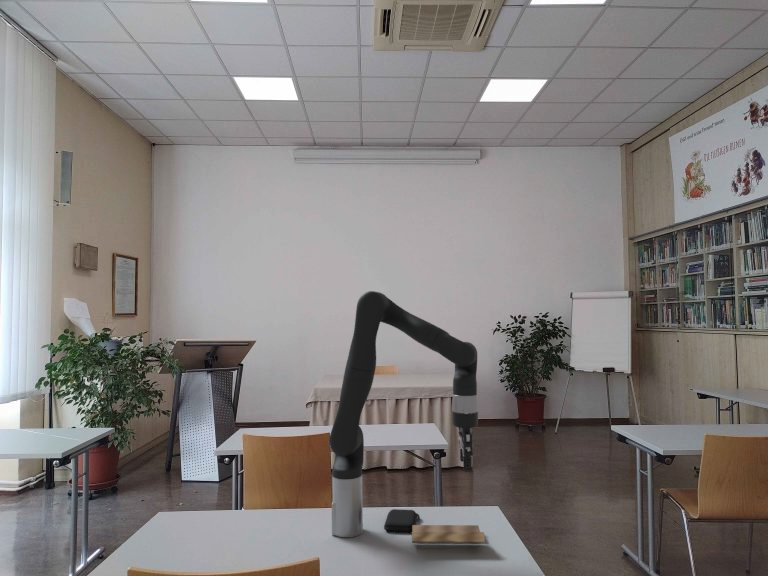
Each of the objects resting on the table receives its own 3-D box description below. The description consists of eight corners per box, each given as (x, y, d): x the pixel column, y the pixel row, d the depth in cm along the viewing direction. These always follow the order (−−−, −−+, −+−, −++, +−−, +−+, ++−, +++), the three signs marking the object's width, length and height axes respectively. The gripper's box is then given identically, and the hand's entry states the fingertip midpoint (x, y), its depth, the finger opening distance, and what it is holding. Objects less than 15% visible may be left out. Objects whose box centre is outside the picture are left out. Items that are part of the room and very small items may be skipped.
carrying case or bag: (417, 535, 164) (420, 517, 179) (417, 525, 164) (420, 508, 179) (383, 534, 166) (388, 516, 180) (383, 524, 166) (388, 507, 180)
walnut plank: (412, 541, 159) (412, 532, 159) (412, 533, 165) (412, 525, 165) (480, 541, 158) (480, 533, 158) (478, 533, 164) (478, 525, 164)
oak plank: (412, 541, 150) (412, 531, 151) (412, 542, 157) (412, 533, 158) (484, 541, 149) (483, 532, 150) (481, 543, 156) (480, 534, 157)
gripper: (450, 405, 167) (450, 458, 166) (454, 414, 153) (455, 472, 152) (474, 405, 167) (475, 458, 166) (481, 414, 153) (481, 472, 152)
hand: (465, 465), depth 159 cm, fingers open, 8 cm apart
